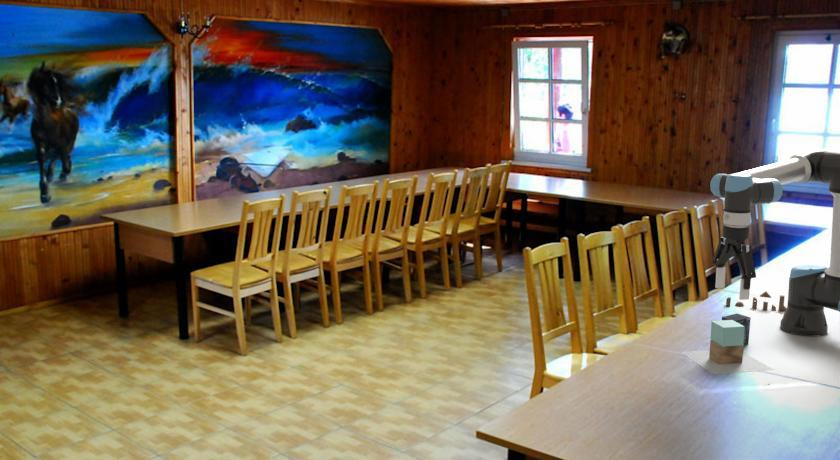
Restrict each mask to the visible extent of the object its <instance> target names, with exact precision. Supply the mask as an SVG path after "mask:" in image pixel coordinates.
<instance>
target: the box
mask: <svg viewBox="0 0 840 460" xmlns="http://www.w3.org/2000/svg"><path fill="white" fill-rule="evenodd" d="M721 320H733V321H735V322H737V323H739V324H741V325H743V326H745V329H744V342H743V344H744V346H746V345H749V340H750V329H751V316H747V315H744V314H740V313H734V314H729V315H724V316H721Z"/></svg>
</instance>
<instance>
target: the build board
mask: <svg viewBox="0 0 840 460" xmlns="http://www.w3.org/2000/svg"><path fill="white" fill-rule="evenodd" d="M680 353H681V354H682V355H684V356H685V357H686V358H689V359H690V360H691V361H693V362H694V363H696V364H697V365H699V366H700V367H702V368H703V369H704V370H706V371H708V373H711V374H712V375H718V374H719V375H720V374H732V373H733V374H734V373H749V372H759V371H761V372H764V371H774V370H775V369H774V368H772V367H770V366H769V365H767V364H765V363H763V362H762V361H760V360H758V359H757V358H754V357H753V356H751V355H750V354H748V353H747V352H744V351H743V360H742V363H731V364H717V363H716V362H714V361H712V360H711V359H709V354H710V349H707V350H705V349H704V350H703V349H702V350H691V351H689V350H687V351H680Z"/></svg>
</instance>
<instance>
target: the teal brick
mask: <svg viewBox="0 0 840 460" xmlns="http://www.w3.org/2000/svg"><path fill="white" fill-rule="evenodd" d="M744 329H745V326H743V325H741V324H739V323H737V322H735V321H733V320H722V319H721V320H711V325H710V338H709V339H710V340H712V341H714V342H716V343H717V344H719V345H721V346H722V347H723V346H738V345H743V342H744Z"/></svg>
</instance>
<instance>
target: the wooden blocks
mask: <svg viewBox="0 0 840 460" xmlns="http://www.w3.org/2000/svg"><path fill="white" fill-rule="evenodd" d="M759 297H760V298H768V299H771V298H772V296H771V295H770V294H769V293H768V291H767V290H765V291H764V292H763V293H761V294H759ZM785 297H786V296H785V295H782V294H781V295H779V301H778V303H779V304H778V312H783V311H786V309H787V306H785ZM731 299H732V297H731V296H728V297H726V299H725V300H726V301H725V302H726V303H725V305H726V306H731V303H732V302H731ZM734 306H735V307H741V306H744V307H745V304H744V303H743V302H742V301H737V302H736V303H735V305H734ZM768 306H769V301H763V303H762V310H763V309H766V310H765V311H768ZM751 307H752V308H756V309H755V310H757V307H758V299H757V297H756V296H753V297H752V305H751ZM771 310H774V311H776V310H777V306H775V305H774V304H771Z"/></svg>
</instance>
